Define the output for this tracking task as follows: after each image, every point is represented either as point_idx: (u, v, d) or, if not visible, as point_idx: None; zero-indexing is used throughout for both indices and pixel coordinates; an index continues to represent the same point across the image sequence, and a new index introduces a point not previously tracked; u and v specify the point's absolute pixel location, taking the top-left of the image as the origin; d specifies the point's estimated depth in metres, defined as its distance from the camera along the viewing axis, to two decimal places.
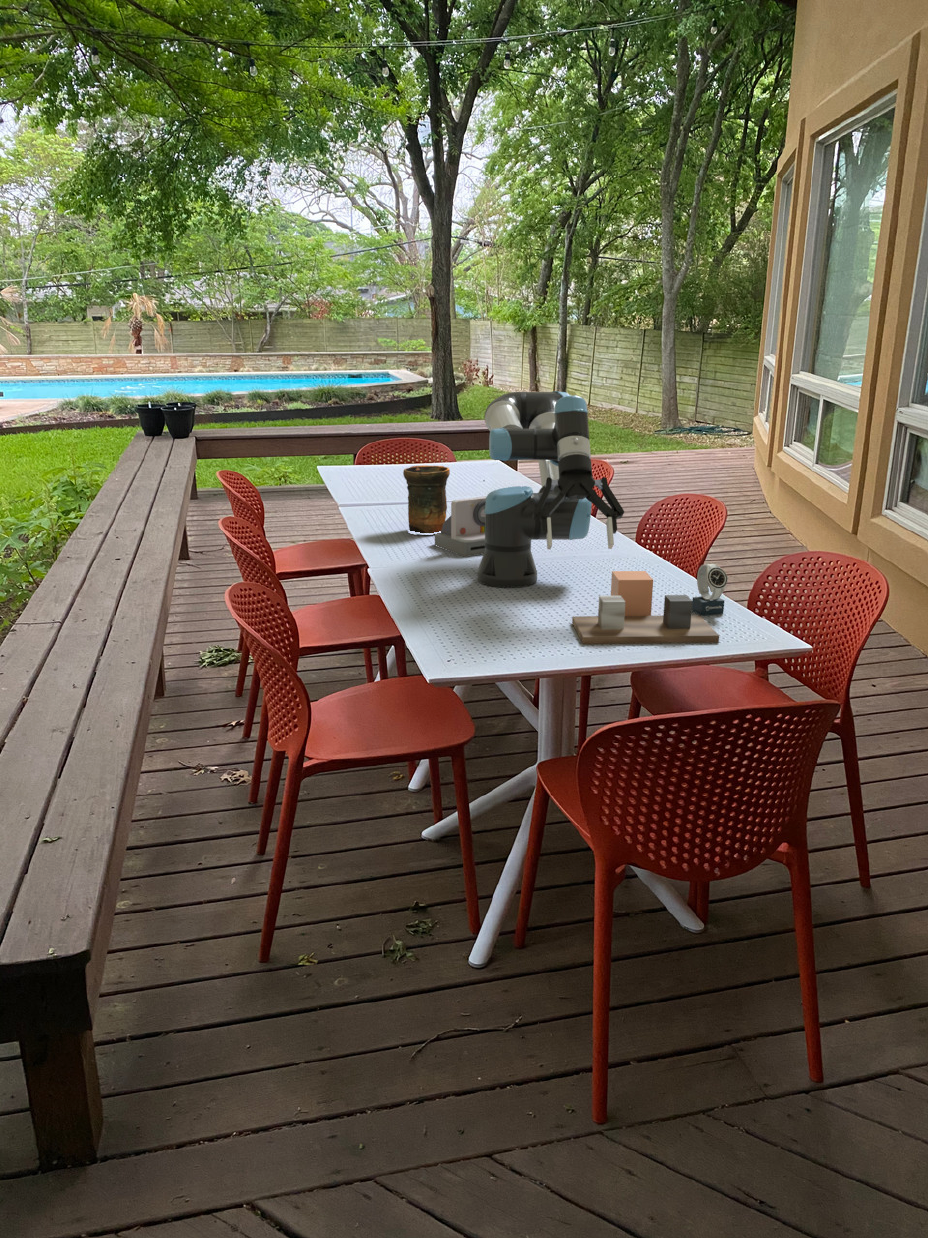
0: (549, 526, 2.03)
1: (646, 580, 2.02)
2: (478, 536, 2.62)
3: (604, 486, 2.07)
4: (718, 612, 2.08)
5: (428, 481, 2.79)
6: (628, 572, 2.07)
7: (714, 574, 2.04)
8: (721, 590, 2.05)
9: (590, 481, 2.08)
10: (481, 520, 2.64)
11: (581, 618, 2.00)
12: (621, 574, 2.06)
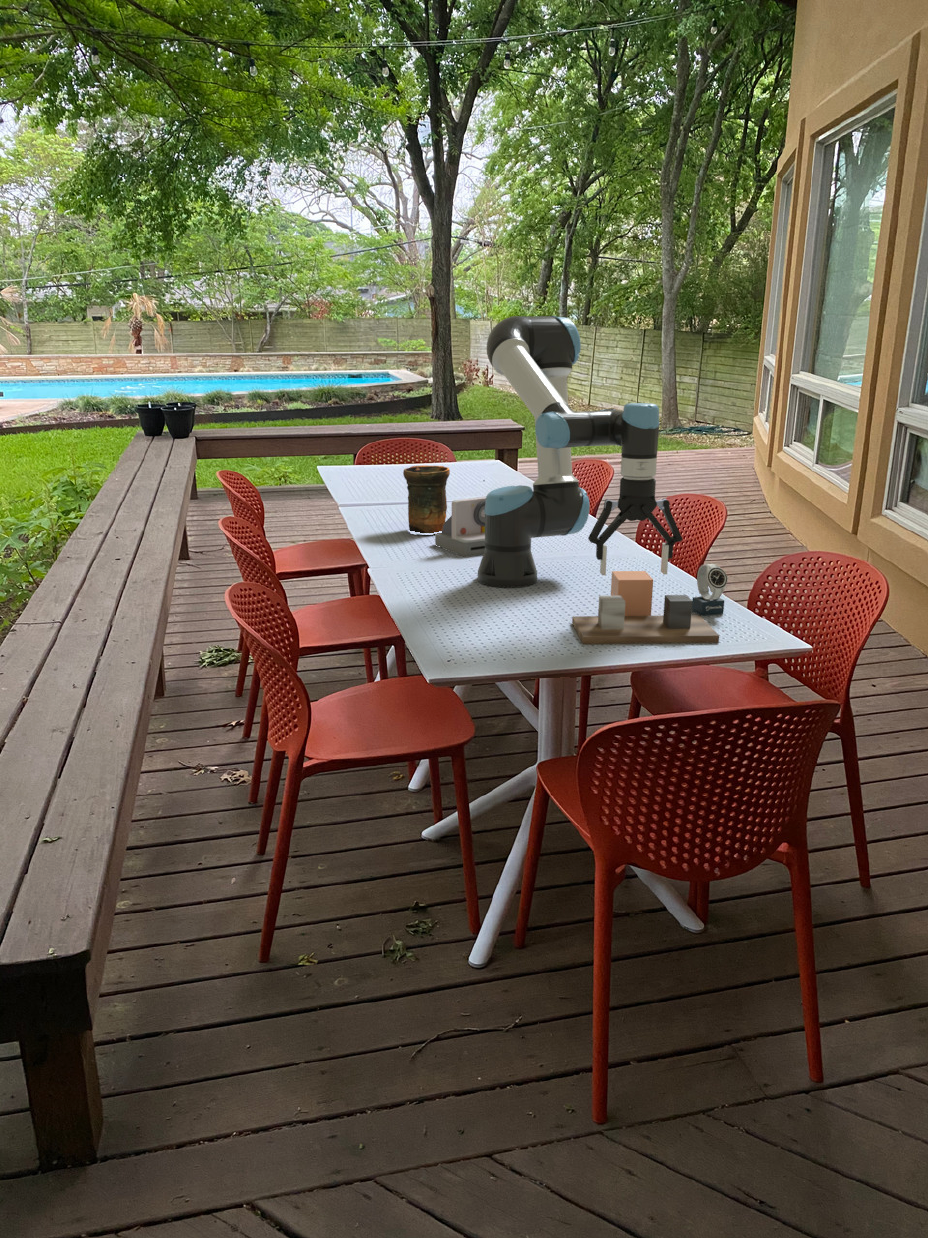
0: (604, 556, 2.02)
1: (646, 580, 2.02)
2: (478, 536, 2.62)
3: (665, 510, 2.00)
4: (718, 612, 2.08)
5: (428, 481, 2.79)
6: (628, 572, 2.07)
7: (714, 574, 2.04)
8: (721, 590, 2.04)
9: (652, 505, 1.99)
10: (481, 520, 2.64)
11: (581, 618, 2.00)
12: (621, 574, 2.06)
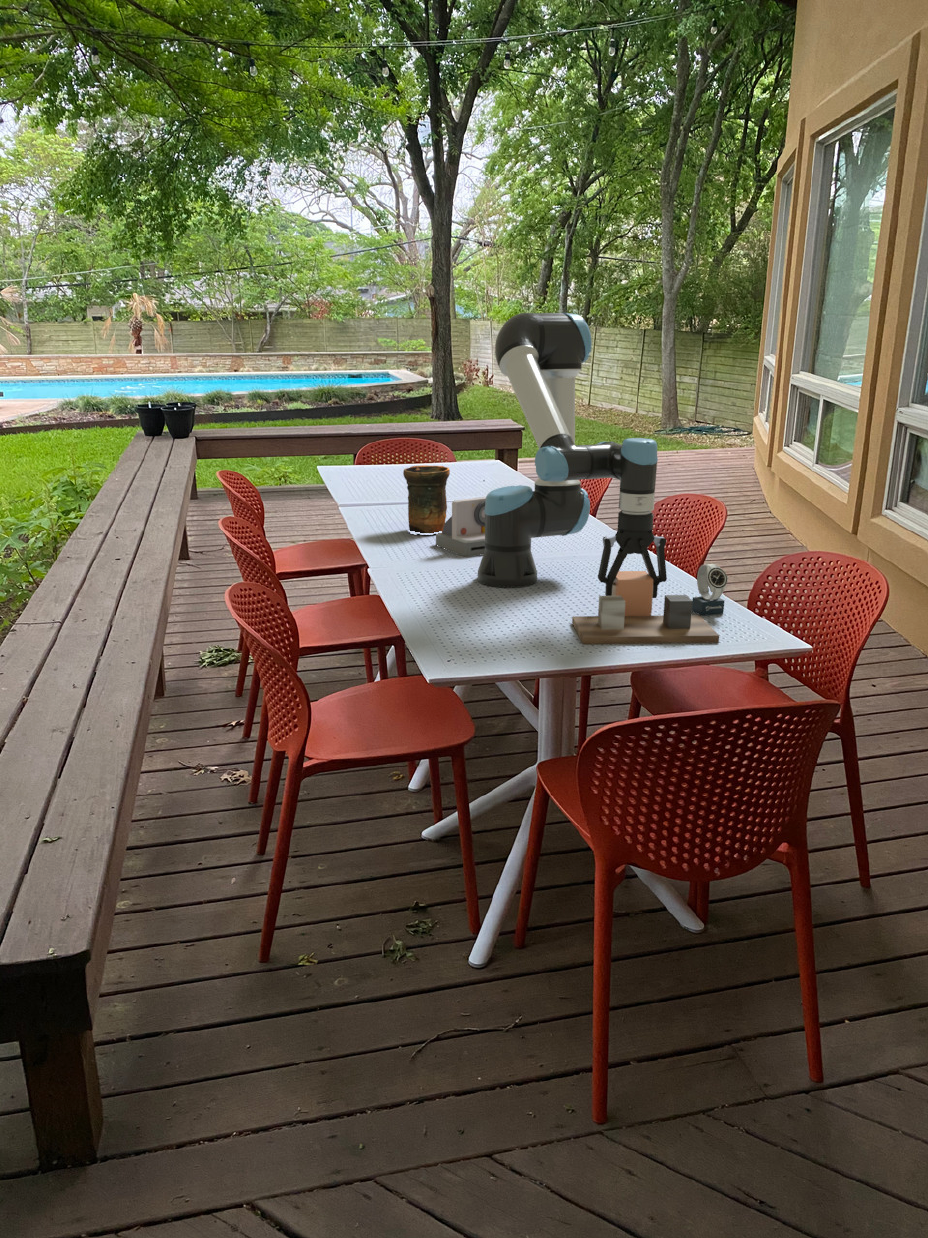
0: (613, 595, 2.05)
1: (646, 580, 2.02)
2: (479, 536, 2.62)
3: (660, 548, 2.02)
4: (718, 612, 2.08)
5: (428, 481, 2.79)
6: (628, 572, 2.07)
7: (714, 574, 2.04)
8: (721, 590, 2.04)
9: (649, 538, 2.01)
10: (482, 520, 2.64)
11: (581, 618, 2.00)
12: (621, 574, 2.06)
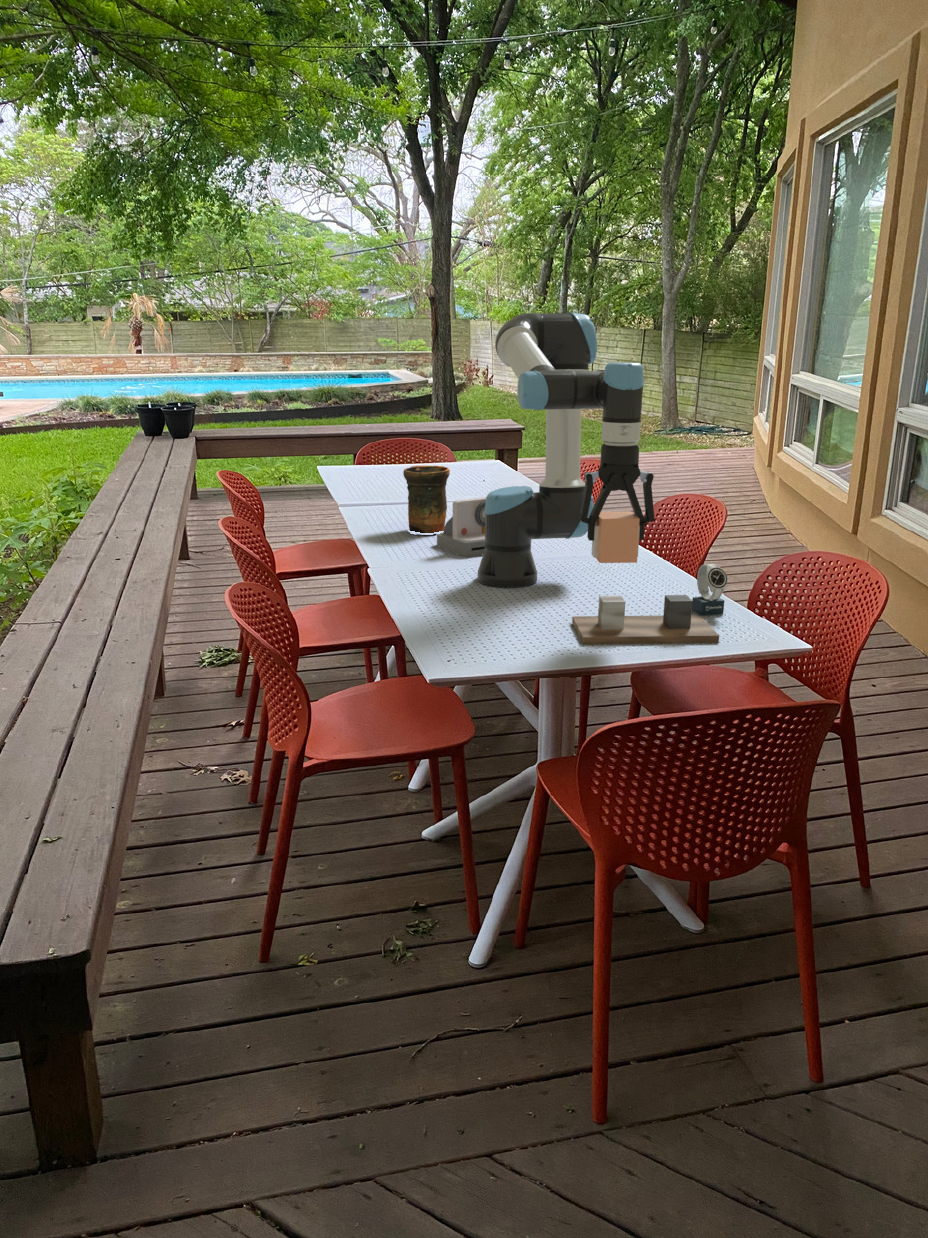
0: (596, 536, 1.87)
1: (632, 519, 1.84)
2: (479, 537, 2.61)
3: (647, 484, 1.85)
4: (718, 612, 2.08)
5: (428, 481, 2.79)
6: (612, 512, 1.90)
7: (714, 574, 2.04)
8: (721, 590, 2.05)
9: (635, 473, 1.84)
10: (483, 521, 2.63)
11: (581, 618, 2.00)
12: (605, 514, 1.88)
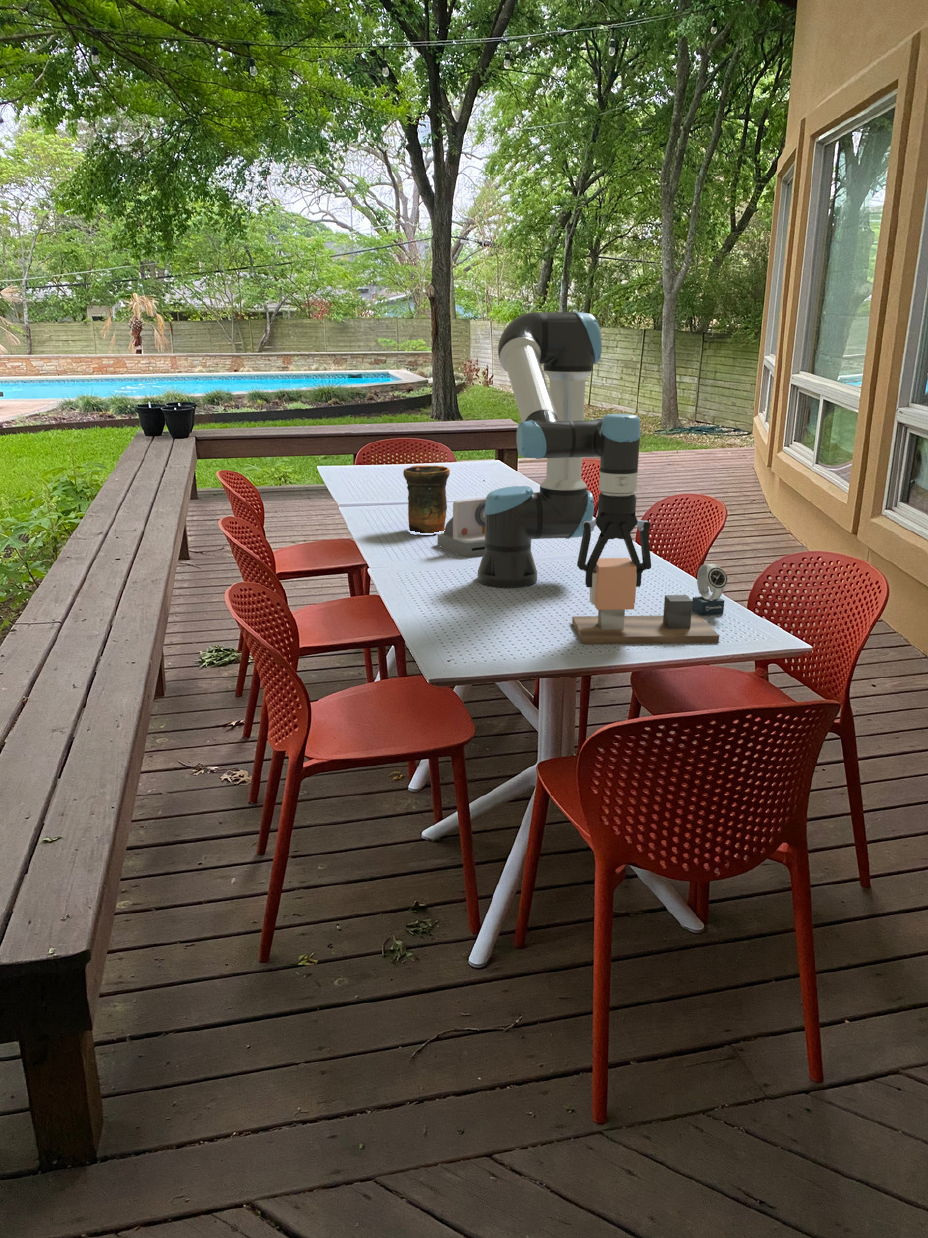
0: (594, 583, 1.90)
1: (629, 567, 1.87)
2: (480, 537, 2.61)
3: (644, 533, 1.88)
4: (718, 612, 2.08)
5: (428, 481, 2.79)
6: (610, 559, 1.93)
7: (714, 574, 2.04)
8: (721, 590, 2.05)
9: (632, 522, 1.87)
10: (483, 521, 2.63)
11: (581, 618, 2.00)
12: (602, 561, 1.91)
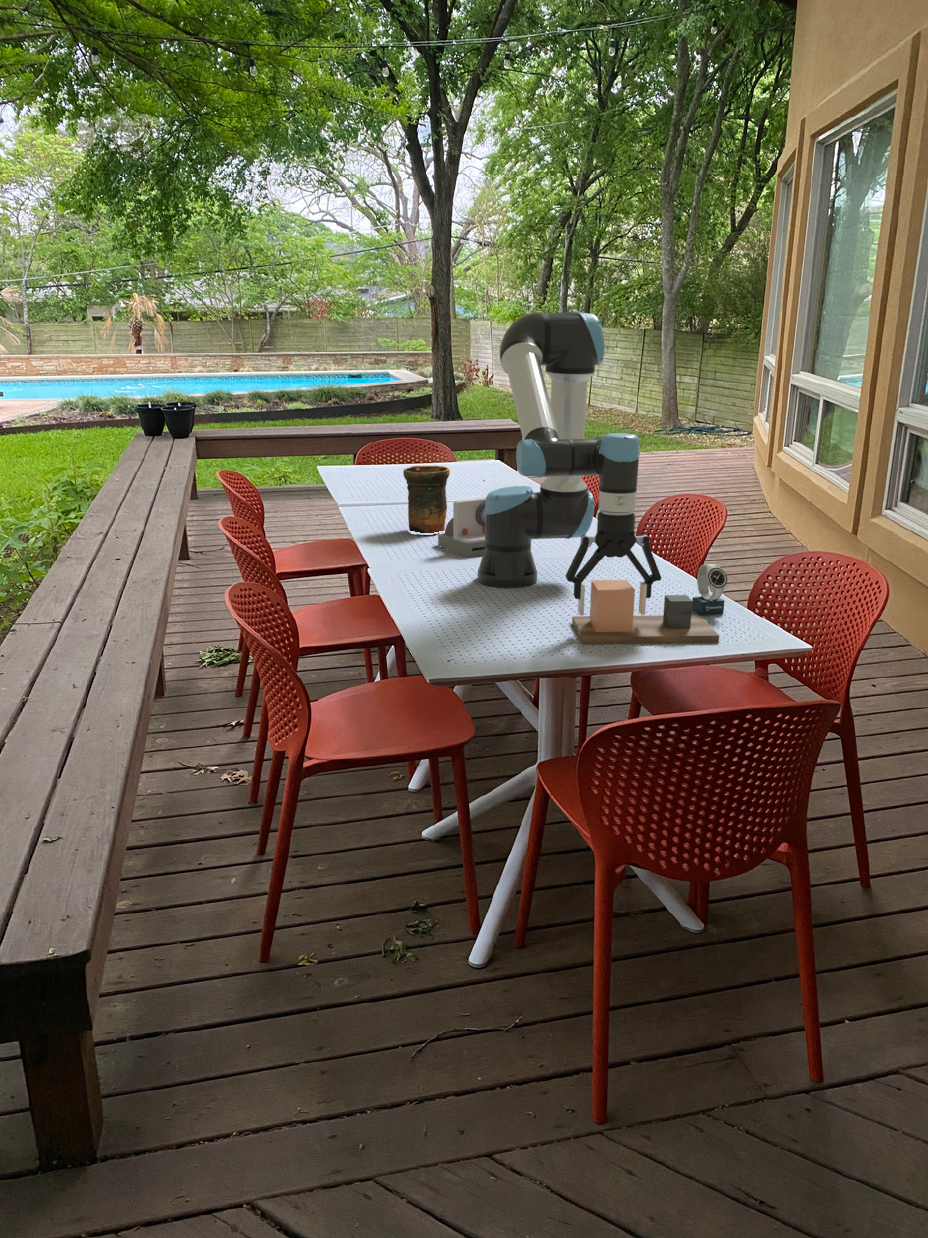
0: (582, 595, 1.91)
1: (627, 590, 1.88)
2: (480, 537, 2.61)
3: (645, 547, 1.89)
4: (718, 612, 2.08)
5: (428, 481, 2.79)
6: (609, 581, 1.94)
7: (714, 574, 2.04)
8: (721, 590, 2.04)
9: (631, 541, 1.88)
10: (484, 521, 2.63)
11: (581, 618, 2.00)
12: (601, 583, 1.93)
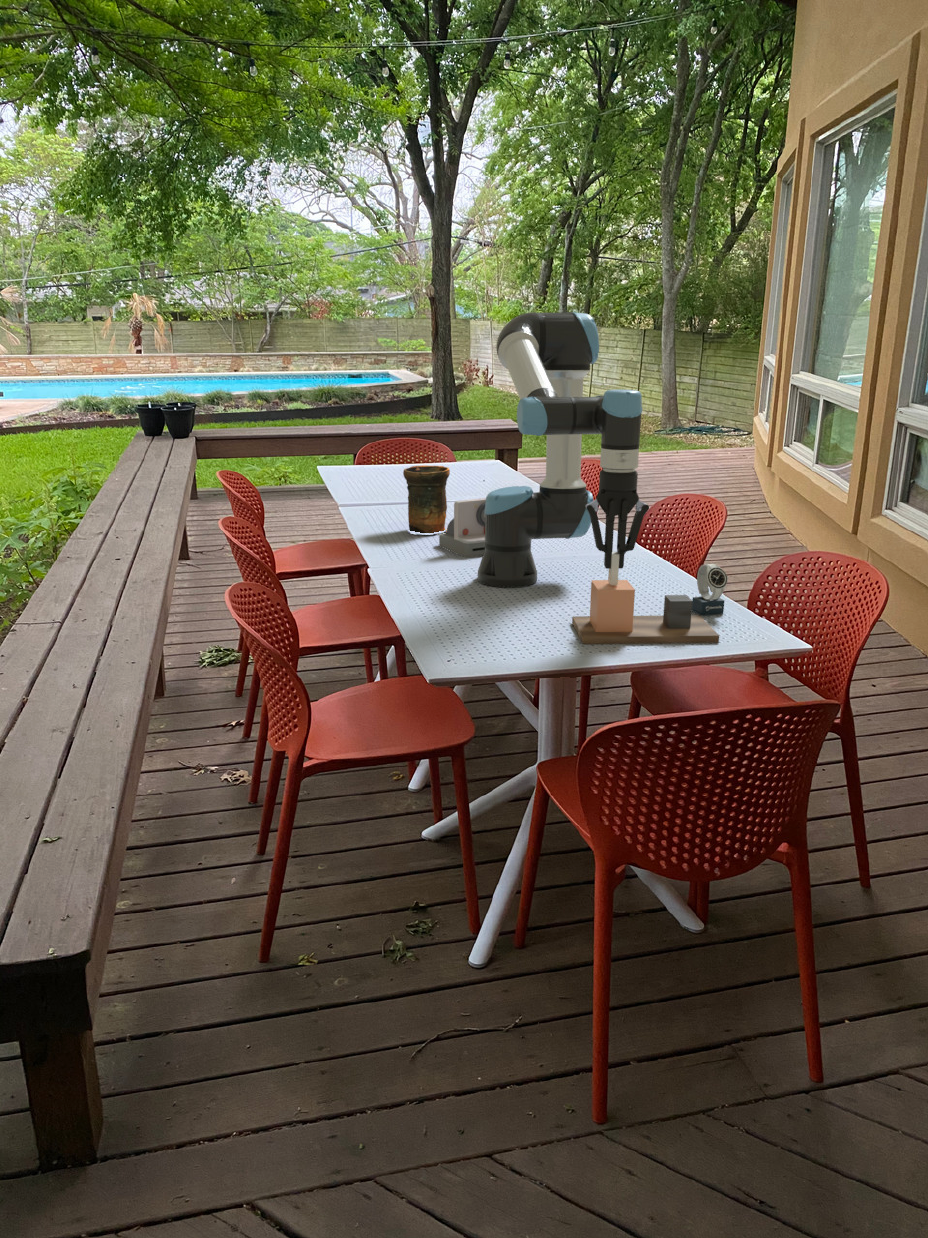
0: (613, 564, 1.89)
1: (627, 590, 1.88)
2: (481, 537, 2.60)
3: (639, 514, 1.86)
4: (718, 612, 2.08)
5: (428, 481, 2.79)
6: None
7: (714, 574, 2.04)
8: (721, 590, 2.05)
9: (633, 499, 1.85)
10: (484, 521, 2.62)
11: (581, 618, 2.00)
12: (601, 583, 1.93)
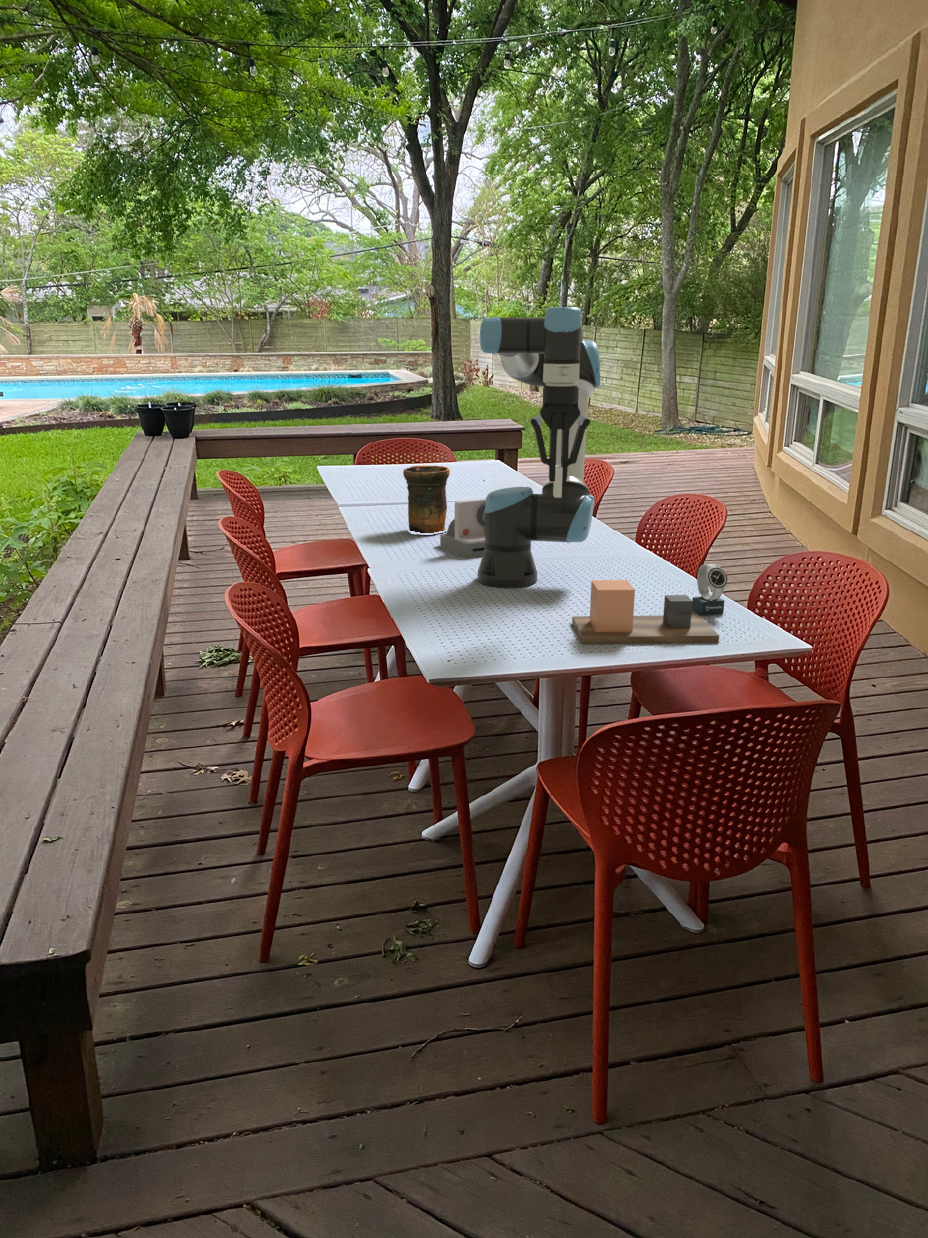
0: (557, 477, 1.98)
1: (627, 590, 1.88)
2: (481, 537, 2.60)
3: (581, 427, 1.96)
4: (718, 612, 2.08)
5: (428, 481, 2.79)
6: (609, 581, 1.94)
7: (714, 574, 2.04)
8: (721, 590, 2.05)
9: (574, 413, 1.95)
10: None
11: (581, 618, 2.00)
12: (601, 583, 1.93)
